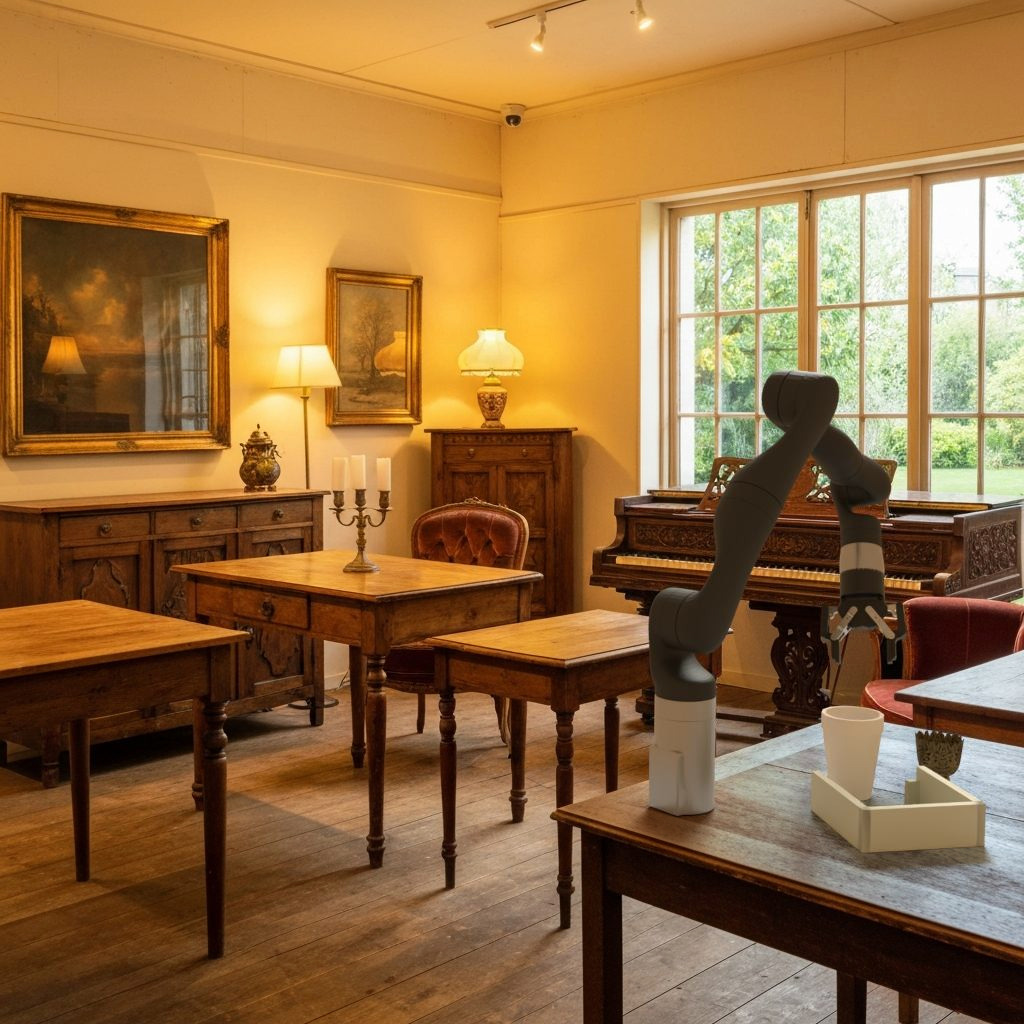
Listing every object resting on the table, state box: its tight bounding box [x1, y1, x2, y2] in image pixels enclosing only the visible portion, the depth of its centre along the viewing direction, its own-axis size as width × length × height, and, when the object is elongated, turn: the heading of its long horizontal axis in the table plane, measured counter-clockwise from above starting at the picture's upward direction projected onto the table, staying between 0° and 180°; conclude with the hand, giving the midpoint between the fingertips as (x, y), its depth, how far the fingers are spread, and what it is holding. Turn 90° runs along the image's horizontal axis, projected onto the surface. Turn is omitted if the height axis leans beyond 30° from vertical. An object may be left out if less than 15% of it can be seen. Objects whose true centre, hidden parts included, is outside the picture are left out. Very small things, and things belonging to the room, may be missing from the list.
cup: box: [914, 729, 965, 782], centre depth 198 cm, size 8×7×8 cm
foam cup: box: [820, 705, 885, 802], centre depth 192 cm, size 10×9×13 cm
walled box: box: [810, 765, 987, 854], centre depth 178 cm, size 18×18×6 cm
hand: (863, 663), depth 209 cm, fingers open, 8 cm apart
